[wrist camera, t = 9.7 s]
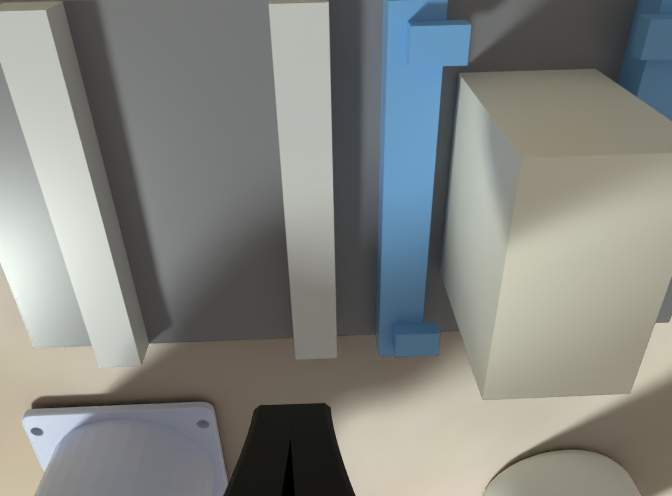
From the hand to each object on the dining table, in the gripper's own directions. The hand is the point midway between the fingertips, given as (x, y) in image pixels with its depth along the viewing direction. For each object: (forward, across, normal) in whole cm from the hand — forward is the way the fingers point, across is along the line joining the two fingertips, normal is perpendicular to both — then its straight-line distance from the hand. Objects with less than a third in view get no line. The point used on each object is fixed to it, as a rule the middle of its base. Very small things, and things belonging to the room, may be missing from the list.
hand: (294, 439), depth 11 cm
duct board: (+10, -2, 0) cm, 10 cm away
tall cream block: (+9, -7, -1) cm, 12 cm away
